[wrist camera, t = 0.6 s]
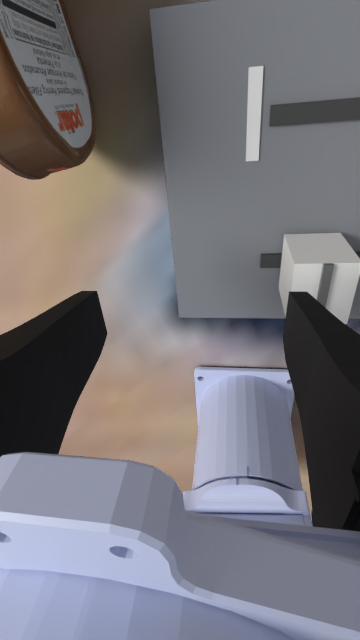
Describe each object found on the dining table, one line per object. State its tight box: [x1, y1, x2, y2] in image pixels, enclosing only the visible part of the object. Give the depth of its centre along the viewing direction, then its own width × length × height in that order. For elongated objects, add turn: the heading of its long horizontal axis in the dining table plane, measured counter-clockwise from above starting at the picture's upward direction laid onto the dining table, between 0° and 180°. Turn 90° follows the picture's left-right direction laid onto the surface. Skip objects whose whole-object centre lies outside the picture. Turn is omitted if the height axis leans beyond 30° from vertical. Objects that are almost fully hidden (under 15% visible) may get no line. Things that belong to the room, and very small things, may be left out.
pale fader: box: [279, 233, 360, 324], centre depth 16 cm, size 3×3×4 cm
